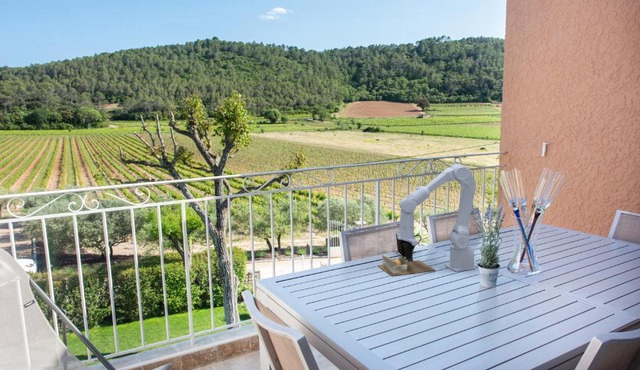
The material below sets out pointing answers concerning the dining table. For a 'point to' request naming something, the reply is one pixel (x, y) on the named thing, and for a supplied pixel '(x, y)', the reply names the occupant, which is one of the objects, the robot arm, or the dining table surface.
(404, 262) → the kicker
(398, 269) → the brown piece
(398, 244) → the coffee mug
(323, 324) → the dining table surface
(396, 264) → the ball
